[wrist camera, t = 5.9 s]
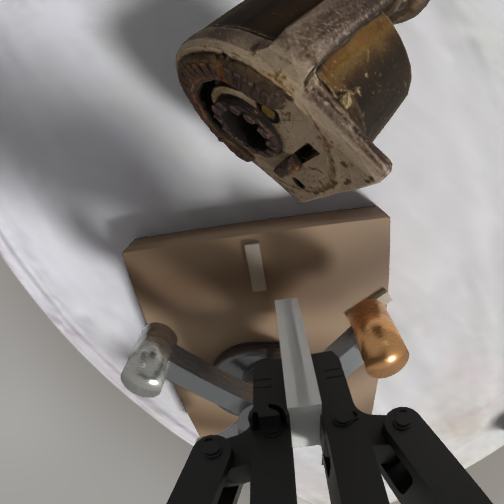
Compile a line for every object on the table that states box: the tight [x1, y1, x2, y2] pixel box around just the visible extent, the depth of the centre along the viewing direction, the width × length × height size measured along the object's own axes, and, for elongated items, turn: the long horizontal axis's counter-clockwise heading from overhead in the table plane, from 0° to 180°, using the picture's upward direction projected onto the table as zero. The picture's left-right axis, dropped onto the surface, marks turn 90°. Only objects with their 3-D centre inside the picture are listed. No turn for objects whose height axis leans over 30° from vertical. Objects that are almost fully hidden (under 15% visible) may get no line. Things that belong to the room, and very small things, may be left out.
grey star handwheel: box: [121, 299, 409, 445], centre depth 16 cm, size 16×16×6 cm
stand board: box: [122, 206, 392, 437], centre depth 19 cm, size 17×14×2 cm
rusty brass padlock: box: [176, 0, 430, 202], centre depth 9 cm, size 7×13×10 cm, turn 154°
